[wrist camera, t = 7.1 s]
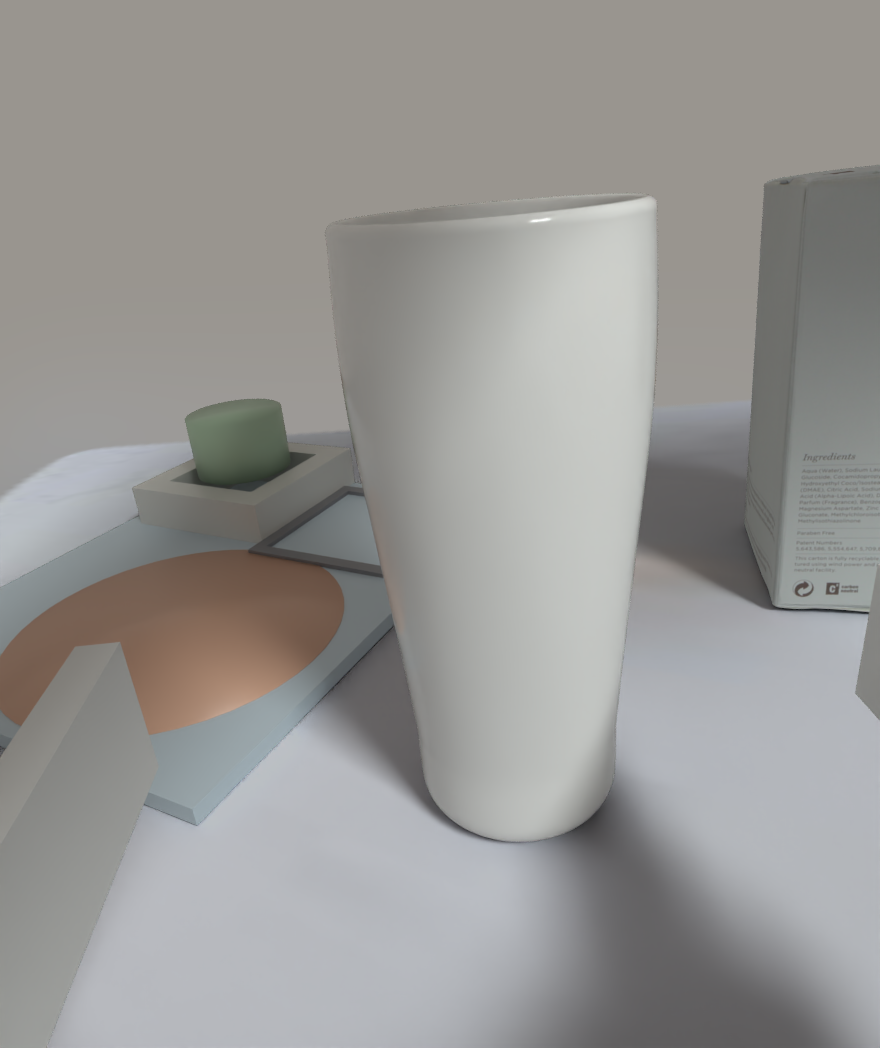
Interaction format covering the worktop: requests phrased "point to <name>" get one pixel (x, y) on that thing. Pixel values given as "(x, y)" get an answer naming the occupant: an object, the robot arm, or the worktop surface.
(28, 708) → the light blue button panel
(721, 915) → the worktop surface
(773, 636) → the worktop surface
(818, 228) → the skincare box
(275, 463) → the button
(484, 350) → the drinking glass
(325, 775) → the worktop surface
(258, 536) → the button collar
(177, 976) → the worktop surface
